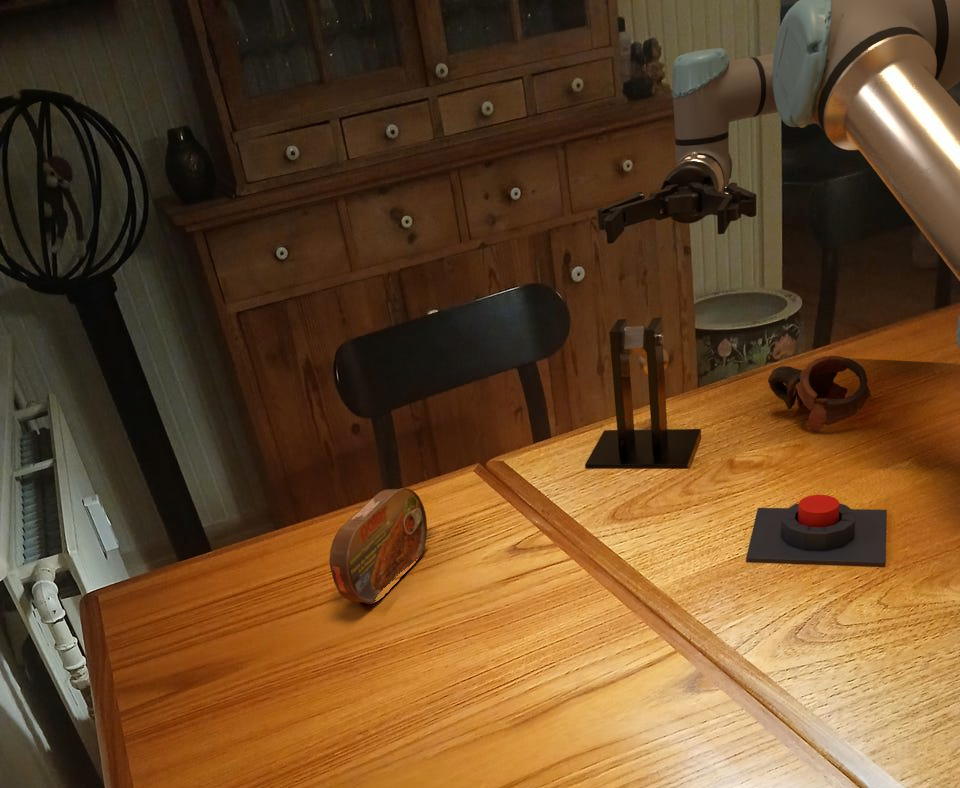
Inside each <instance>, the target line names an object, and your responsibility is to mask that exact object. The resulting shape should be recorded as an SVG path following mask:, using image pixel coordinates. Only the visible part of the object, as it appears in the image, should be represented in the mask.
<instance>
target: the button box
mask: <svg viewBox="0 0 960 788" xmlns="http://www.w3.org/2000/svg"><path fill="white" fill-rule="evenodd" d="M839 504H840V505H839V520H838V522H837V524H835V525H832V526H827V527H808V526H805V525H802V524H800V523H799V522H798V505H799V502H798V503H794V504H792V505H791V506H789V507H757V509H756V514H755V518H754V523H753V526H752V532H751V535H750V539H749V544H748V547H747V553H746V557H745V563H754V564H755V563H756V564H783V565H785V564H786V565H813V566H840V567H841V566H842V567H843V566H844V567H845V566H847V567H870V568H871V567H873V568H885V567H886V562H887V561H886V560H887V559H886V557H887V515H888V510H887V509H874V508H873V509H872V508H871V509H869V508H868V509H867V508H864V509H862V508H861V509H860V508H851V507H849V506H848V505H846V504H844V503H840V502H839Z"/></svg>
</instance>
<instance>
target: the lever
mask: <svg viewBox="0 0 960 788" xmlns="http://www.w3.org/2000/svg"><path fill="white" fill-rule="evenodd" d="M646 329H647V327H646V326H645V325H640V326H627V327H625V337H624V349H625V350H626V351H627V353H628V354H629V355H639V356H638V366H639V368H640V370H641V371H642V373H644V374H645V375H646V376H648V366H647V350H646V333H645V331H646ZM663 355H664V372H665V371H666V369H667V368H668V366H669V353H668V352H667V351H666V349H664V348H663Z"/></svg>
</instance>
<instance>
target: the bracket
mask: <svg viewBox="0 0 960 788" xmlns="http://www.w3.org/2000/svg"><path fill="white" fill-rule="evenodd" d="M662 320H663V319H662V317H661V316H658V317H652V319H651V320H650V322H649V324H648V325H647V327H646V331H645V333H646V350H647V366H648V375H647V381H648V383H647V384H648V397H649V413H650V415H649V416H650V429H635V422H634V421H635V420H634V406H633V393H632V379H631V363H630V354H628V353H627V351H626V350H625V349H624V337H625V327H628V319H627V318H619V319H617V320H616V322H615V323H614V325H612V327H611V329H610V330H609V332H608V333H609V339H608V345H609V348H610V357H611V358H610V359H611V370H612V381H613V395H614V406H615V408H614V409H615V420H616V421H615V422H616V429H604V430H603V431H602V433H601V435H600V437H599V439H598V440H597V442H596V444H595V446H594V448H593V450H592V451H591V453H590V455H589V456H588V459H587V460H586V462H585V464H584V469H585V470H690V468H691V466H692V463H693V461H694V458H695V456H696V452H697V450H698V447H699V445H700V442H701V439H702V429H701V428H677V429H676V428H673V429H672V428H670V429H668V418H667V417H668V414H667V399H666V398H667V397H666V394H667V393H666V378H665V375H666V374H665V371H664V355H663V349H664V345H665V333H664V332H663V321H662Z"/></svg>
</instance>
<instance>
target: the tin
mask: <svg viewBox="0 0 960 788" xmlns="http://www.w3.org/2000/svg"><path fill="white" fill-rule="evenodd" d="M427 519H428V518H427V514H426V510H425V506H424V504H423V502H422V499H421V498H420V496H419V495H418V494H417V493H416V492H415V491H414V490H412V489H411V488H408V487H403V488H389V489H388V488H387V489H383V490H380V491H379V492H378V493H376V494H375V495H374V496H373V497H372V498H370V500H369V501H367V503H366V504H365V505H363V506H362V507H361V508H359V510H358V511H357V512H356V513H355V514H354V515H353V516H351V517H350V519H348V520H347V521H346V522H345V523H344V524H343V525H342V526H341V527H340V528H339V529H338V530H337V532H336V533H335V535H334V537H333V540H332V543H331V546H330V551H329V568H330V572H331V575H332V579H333V583H334V585H335V588H336V589H337V592H338V594H339V595H340V596H341V597H342V598H343V599H345V600H347V601H351V602H355V603H365V604H369V605H374V604H375V603H374V602H375V601H376V600H375V599H376V597H377V595H378V594H379V593H380V592H381V591H382V590H383V588H385V587H386V586H387V585H388V584H390V582H391V581H393V580H394V579H395V578H396V576H398V574H400V572H402V571H403V570H405V569H406V568H407V567H409V566H410V565H411V564H412V563H413V562H414V561H416V559H418V558H419V557H420V556H421V557H422V555H423V553H424V550H425V547H426V543H427V536H428V521H427ZM421 557H420V558H421ZM373 603H374V604H373Z"/></svg>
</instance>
